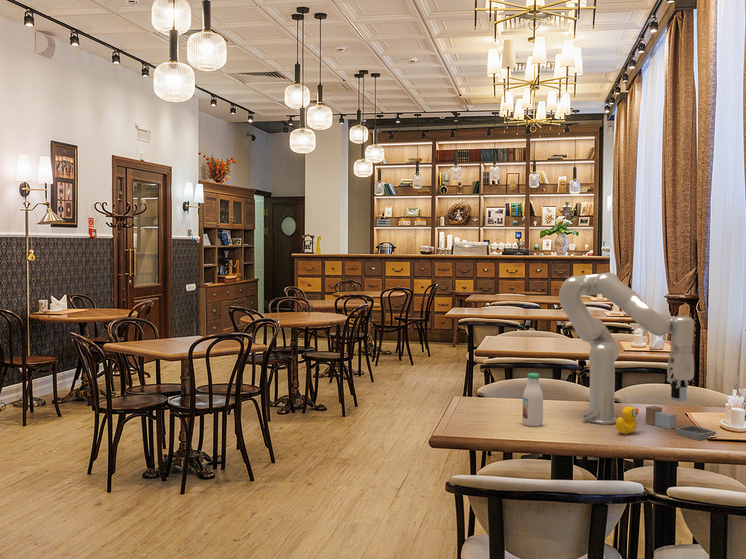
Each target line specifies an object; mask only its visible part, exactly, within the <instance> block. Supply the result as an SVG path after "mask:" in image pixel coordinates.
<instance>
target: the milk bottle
mask: <svg viewBox="0 0 746 559" xmlns="http://www.w3.org/2000/svg"><path fill="white" fill-rule="evenodd" d="M540 385H541V384H540V374H539V373H537V372H535V373H534V372H530V373H527V384H526V386H525V388H524V390H523V395H522V397H523V398H522V424H523V425H524V426H526V425H527V427H534V426H536V427H541V426H540V425H542V426H543V421H544V420H543V419H544V393H543V390H542V387H541V386H540Z"/></svg>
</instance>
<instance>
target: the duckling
mask: <svg viewBox="0 0 746 559" xmlns="http://www.w3.org/2000/svg"><path fill="white" fill-rule="evenodd" d="M638 414H639V408H638V407H636V408H635V407H633V406H630V405H628V406H624V407H623V409H622V410H621V416H622V417H621V416H619V417H616V418H617V420H616V423H615V428H616V431H617V432H619V433H620V434H624V435H628V434H629V433H630V434H632V433H634V431H635V430H636V428H637V425H638V424H637V422H636V420H635V419H636V417H637V416H638Z"/></svg>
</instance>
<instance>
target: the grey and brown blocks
mask: <svg viewBox="0 0 746 559" xmlns="http://www.w3.org/2000/svg"><path fill="white" fill-rule="evenodd" d="M646 423H648V424H647V425H650V424H652V425H651V426H656V425H658V426H657V427H659V426H662V427H661V428H663V427H665V428H664V429H667V428H669V429H668V430H672V428H674V429H676V428H677V427H676V426H677V415H676V414H672V413H669V412H664V411H663V407H662V406H658V405H650V406H646V407H645V424H646Z"/></svg>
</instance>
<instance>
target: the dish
mask: <svg viewBox="0 0 746 559" xmlns="http://www.w3.org/2000/svg"><path fill="white" fill-rule="evenodd" d="M674 430H675V431H674V434H675V435H677V436H681V437H684V438H687V437H688V438H689V439H691V440H695V441H703V440H708V437H710V436H714V435H716V436H717V434H716V433H717V431H715V430H712V429H707V428H704V427H699V426H695V425H688V426H682V427H676V428H674Z"/></svg>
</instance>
